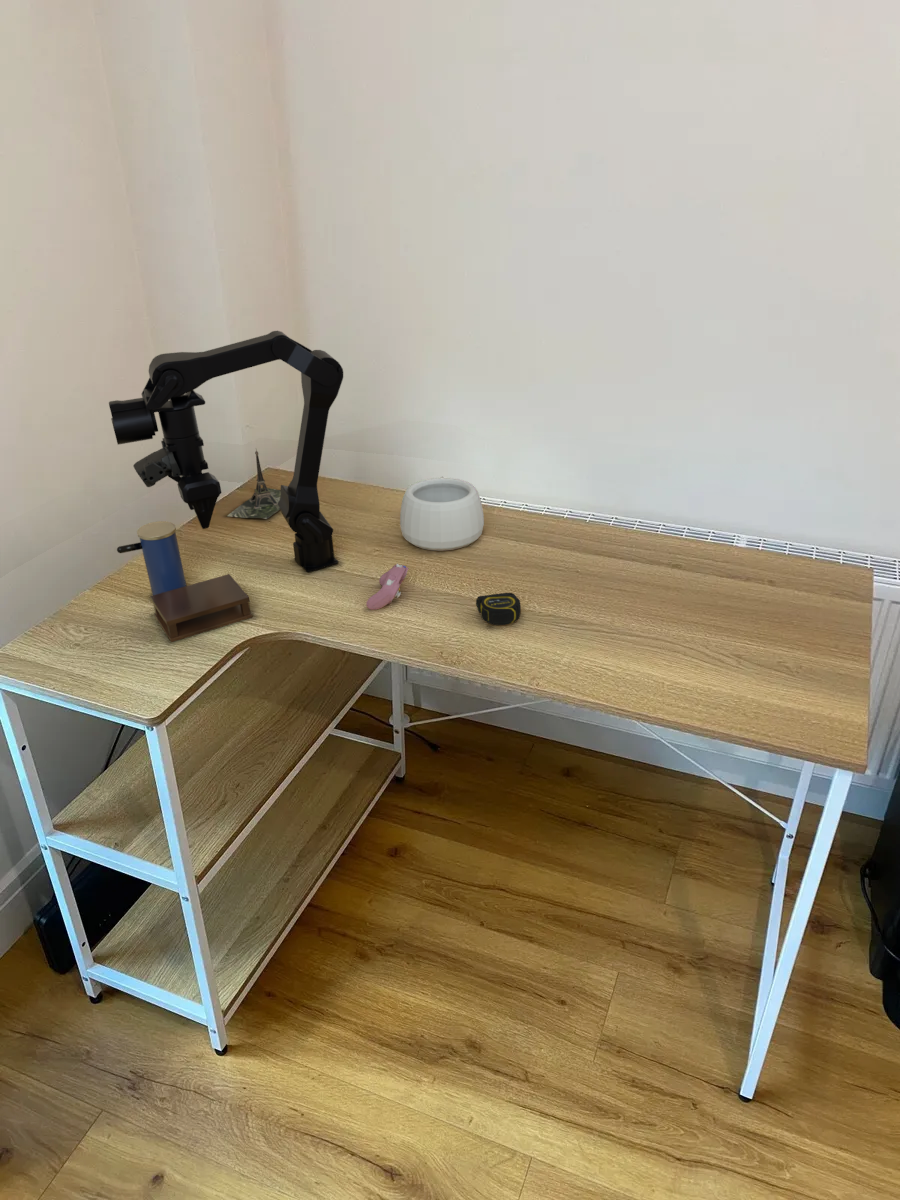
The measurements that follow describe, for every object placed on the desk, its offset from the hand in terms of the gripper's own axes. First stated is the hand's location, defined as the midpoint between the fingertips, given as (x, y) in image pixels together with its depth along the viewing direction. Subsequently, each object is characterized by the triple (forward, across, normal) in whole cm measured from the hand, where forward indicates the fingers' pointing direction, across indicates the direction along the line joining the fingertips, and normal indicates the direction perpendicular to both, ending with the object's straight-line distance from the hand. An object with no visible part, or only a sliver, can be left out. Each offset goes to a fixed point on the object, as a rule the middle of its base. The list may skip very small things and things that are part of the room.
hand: (199, 518), depth 151 cm
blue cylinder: (+13, 0, -10) cm, 16 cm away
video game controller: (+14, +21, +26) cm, 36 cm away
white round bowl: (+14, +1, +46) cm, 49 cm away
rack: (+13, +11, -4) cm, 18 cm away
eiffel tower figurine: (+14, -30, +19) cm, 38 cm away
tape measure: (+14, +36, +39) cm, 55 cm away
